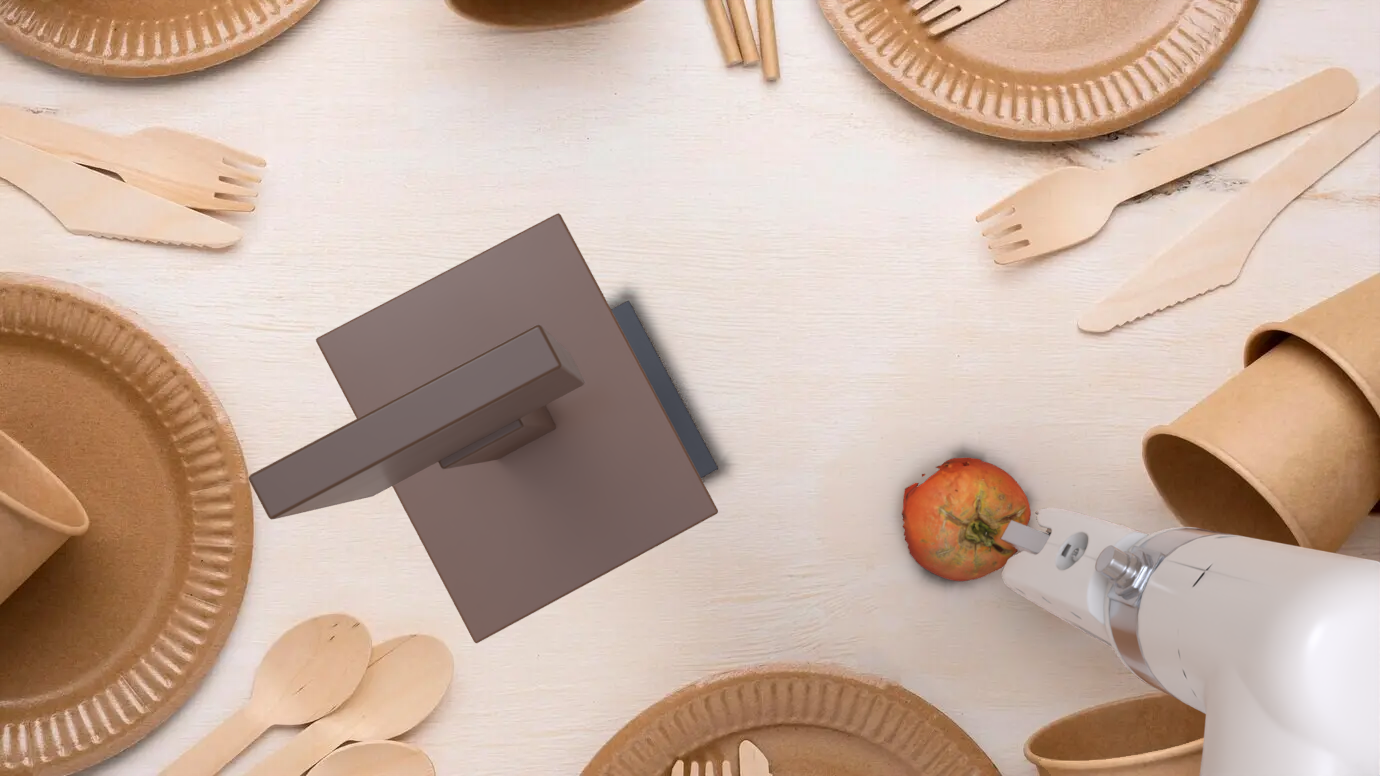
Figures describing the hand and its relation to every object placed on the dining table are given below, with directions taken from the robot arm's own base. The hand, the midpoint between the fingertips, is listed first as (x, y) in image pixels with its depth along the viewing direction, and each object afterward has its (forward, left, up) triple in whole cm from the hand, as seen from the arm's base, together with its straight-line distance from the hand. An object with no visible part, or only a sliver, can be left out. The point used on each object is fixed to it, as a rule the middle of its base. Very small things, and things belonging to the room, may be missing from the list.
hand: (1045, 562), depth 65 cm
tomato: (+4, +3, -3) cm, 6 cm away
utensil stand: (+20, +21, -3) cm, 29 cm away
